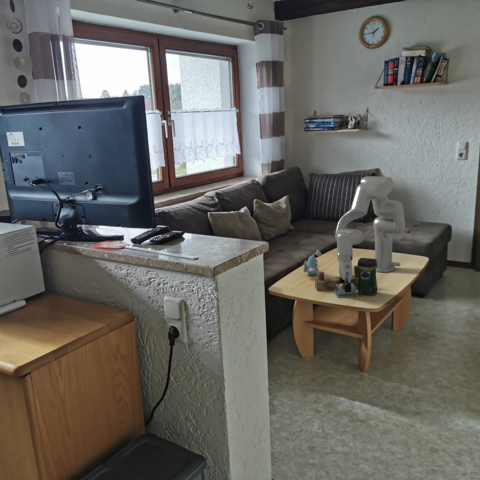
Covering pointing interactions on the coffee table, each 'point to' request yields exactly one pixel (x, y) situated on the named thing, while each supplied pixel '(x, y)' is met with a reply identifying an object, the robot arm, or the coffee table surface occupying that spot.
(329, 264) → the coffee table surface
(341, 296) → the mat
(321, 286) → the brown long u-shaped block
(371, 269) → the coffee jar
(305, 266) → the toy figure
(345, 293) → the lever cap
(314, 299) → the coffee table surface
